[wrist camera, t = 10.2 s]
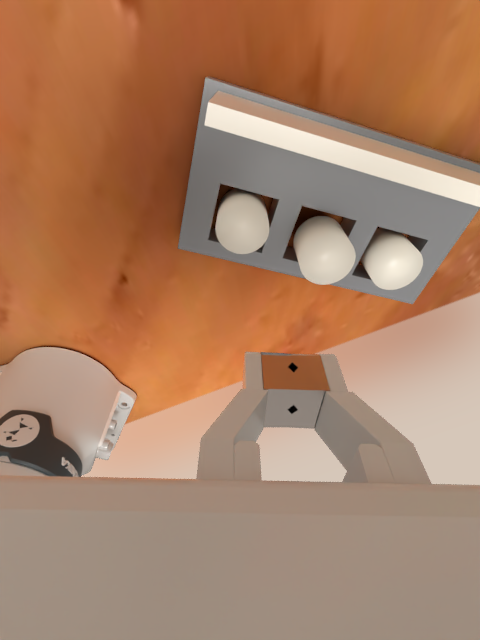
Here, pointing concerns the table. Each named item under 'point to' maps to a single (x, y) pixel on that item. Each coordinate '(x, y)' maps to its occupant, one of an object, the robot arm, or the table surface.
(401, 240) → the button right
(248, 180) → the console
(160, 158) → the table surface
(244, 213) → the button left
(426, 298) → the table surface
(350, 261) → the button middle
